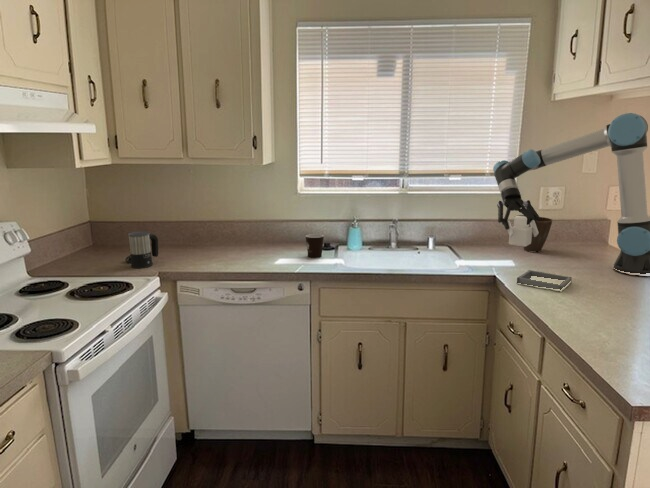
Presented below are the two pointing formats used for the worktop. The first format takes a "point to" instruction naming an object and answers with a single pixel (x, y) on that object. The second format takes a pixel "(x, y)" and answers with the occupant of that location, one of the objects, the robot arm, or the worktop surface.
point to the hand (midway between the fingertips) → (524, 235)
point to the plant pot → (539, 234)
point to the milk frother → (142, 249)
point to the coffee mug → (314, 245)
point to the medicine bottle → (521, 231)
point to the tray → (526, 280)
